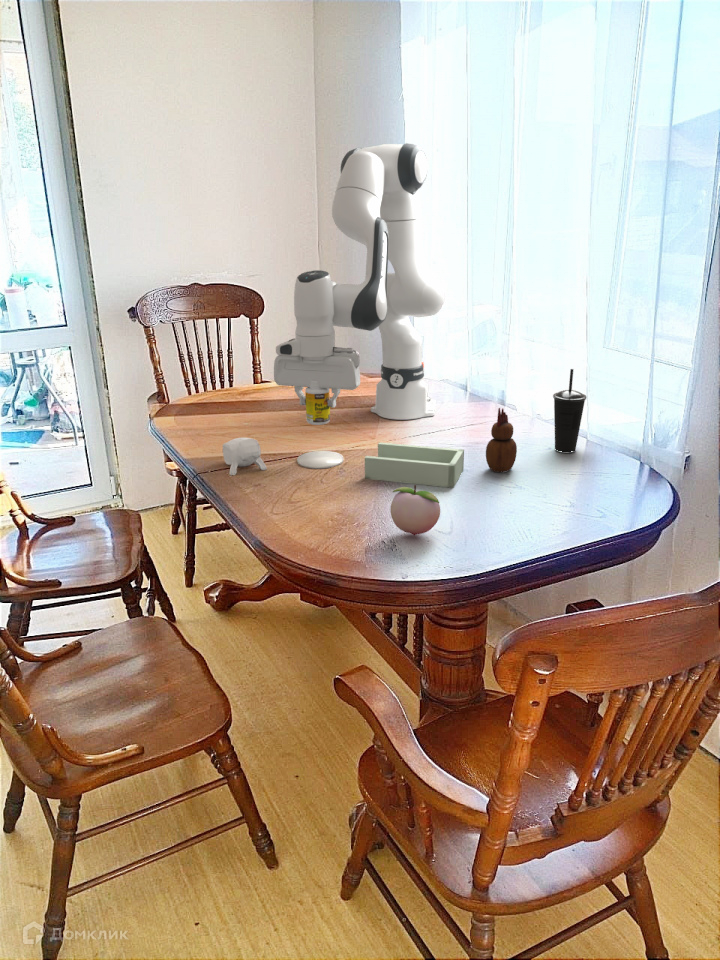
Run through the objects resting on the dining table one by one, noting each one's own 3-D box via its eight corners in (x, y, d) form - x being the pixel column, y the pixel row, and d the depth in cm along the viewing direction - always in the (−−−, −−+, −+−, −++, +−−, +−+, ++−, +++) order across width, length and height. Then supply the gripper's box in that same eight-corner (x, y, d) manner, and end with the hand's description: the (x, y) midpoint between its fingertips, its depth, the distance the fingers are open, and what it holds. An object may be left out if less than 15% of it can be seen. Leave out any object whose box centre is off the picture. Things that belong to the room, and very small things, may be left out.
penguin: (223, 477, 175) (237, 474, 161) (216, 442, 174) (230, 436, 160) (257, 471, 178) (274, 468, 164) (251, 437, 178) (267, 430, 164)
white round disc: (307, 451, 182) (307, 449, 181) (349, 455, 178) (349, 453, 178) (290, 466, 172) (289, 463, 172) (334, 470, 169) (333, 468, 168)
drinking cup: (583, 447, 180) (591, 367, 173) (578, 456, 174) (586, 373, 167) (552, 443, 183) (558, 364, 176) (546, 453, 177) (552, 371, 170)
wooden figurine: (496, 476, 163) (499, 411, 157) (480, 468, 168) (483, 405, 162) (520, 471, 166) (524, 407, 160) (504, 463, 170) (507, 401, 165)
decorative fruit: (383, 541, 133) (382, 491, 130) (397, 524, 140) (396, 475, 137) (432, 549, 130) (433, 497, 127) (444, 530, 137) (445, 480, 134)
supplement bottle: (314, 427, 168) (312, 383, 164) (302, 421, 172) (300, 378, 169) (334, 423, 171) (333, 379, 167) (322, 417, 175) (321, 375, 171)
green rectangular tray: (379, 462, 173) (379, 442, 171) (463, 470, 167) (464, 449, 165) (364, 478, 163) (364, 457, 161) (453, 487, 157) (454, 465, 155)
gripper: (363, 345, 165) (364, 405, 170) (280, 341, 171) (283, 399, 176) (354, 351, 159) (355, 412, 164) (269, 346, 165) (272, 406, 170)
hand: (317, 405), depth 170 cm, fingers closed on supplement bottle, 5 cm apart
